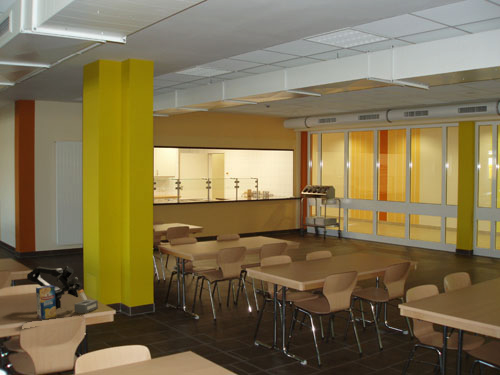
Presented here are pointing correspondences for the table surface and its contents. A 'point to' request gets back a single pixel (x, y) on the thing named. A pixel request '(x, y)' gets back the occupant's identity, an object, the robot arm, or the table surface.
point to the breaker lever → (82, 295)
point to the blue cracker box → (46, 302)
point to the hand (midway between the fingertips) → (77, 296)
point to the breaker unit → (86, 306)
